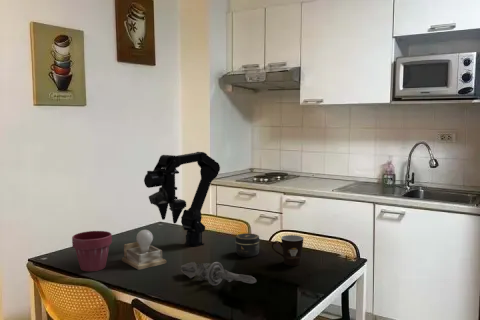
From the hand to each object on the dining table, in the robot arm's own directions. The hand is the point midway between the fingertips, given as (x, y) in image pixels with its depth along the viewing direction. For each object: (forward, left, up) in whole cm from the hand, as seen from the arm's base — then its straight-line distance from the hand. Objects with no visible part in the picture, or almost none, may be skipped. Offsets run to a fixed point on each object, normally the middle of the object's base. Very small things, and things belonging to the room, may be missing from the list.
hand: (169, 221), depth 194 cm
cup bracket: (+15, +6, -13) cm, 21 cm away
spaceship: (+8, +44, -13) cm, 46 cm away
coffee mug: (-28, +43, -13) cm, 53 cm away
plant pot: (+33, -1, -13) cm, 36 cm away
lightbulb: (+15, +6, -11) cm, 20 cm away
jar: (-23, +24, -13) cm, 36 cm away
